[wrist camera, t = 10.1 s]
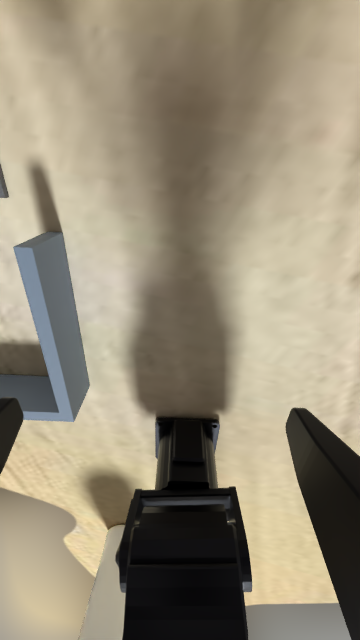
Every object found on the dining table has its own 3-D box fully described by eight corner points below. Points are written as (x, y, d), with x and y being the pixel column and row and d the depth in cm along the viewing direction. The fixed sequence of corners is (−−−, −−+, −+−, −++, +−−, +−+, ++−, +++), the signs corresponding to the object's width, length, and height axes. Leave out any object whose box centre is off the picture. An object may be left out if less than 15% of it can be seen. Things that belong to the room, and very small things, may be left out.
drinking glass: (127, 515, 37) (96, 702, 24) (156, 533, 40) (143, 710, 27) (93, 527, 39) (48, 706, 26) (123, 544, 42) (96, 712, 29)
